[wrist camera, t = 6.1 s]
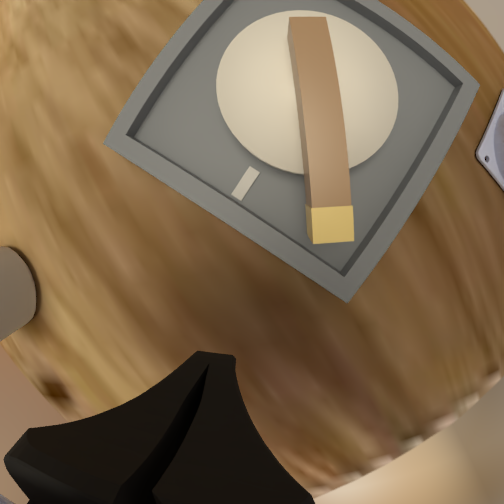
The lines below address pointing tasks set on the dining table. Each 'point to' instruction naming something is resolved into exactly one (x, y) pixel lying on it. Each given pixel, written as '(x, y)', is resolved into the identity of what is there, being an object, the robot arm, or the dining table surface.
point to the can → (15, 292)
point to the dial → (309, 106)
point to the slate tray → (280, 182)
